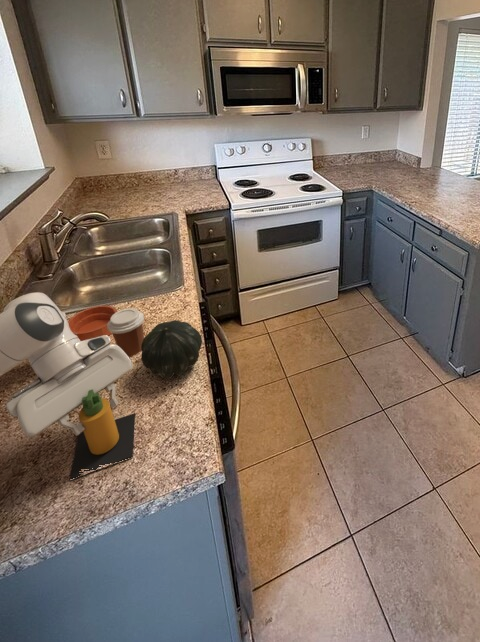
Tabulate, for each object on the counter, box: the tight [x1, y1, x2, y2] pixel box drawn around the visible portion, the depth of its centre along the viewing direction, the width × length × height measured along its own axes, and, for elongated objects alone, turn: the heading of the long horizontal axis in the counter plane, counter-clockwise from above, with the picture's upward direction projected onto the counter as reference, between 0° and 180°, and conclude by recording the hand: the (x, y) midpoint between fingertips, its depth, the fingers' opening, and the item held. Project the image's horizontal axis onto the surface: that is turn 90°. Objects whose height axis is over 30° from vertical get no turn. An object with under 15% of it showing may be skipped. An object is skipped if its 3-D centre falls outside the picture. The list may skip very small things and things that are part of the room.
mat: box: [68, 412, 136, 481], centre depth 76 cm, size 11×11×1 cm
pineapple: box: [78, 389, 119, 455], centre depth 73 cm, size 5×5×13 cm
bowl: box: [67, 304, 118, 341], centre depth 109 cm, size 13×13×4 cm
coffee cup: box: [107, 307, 145, 358], centre depth 100 cm, size 9×9×12 cm
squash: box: [141, 319, 203, 380], centre depth 95 cm, size 14×15×15 cm
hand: (98, 419), depth 73 cm, fingers closed on pineapple, 5 cm apart
